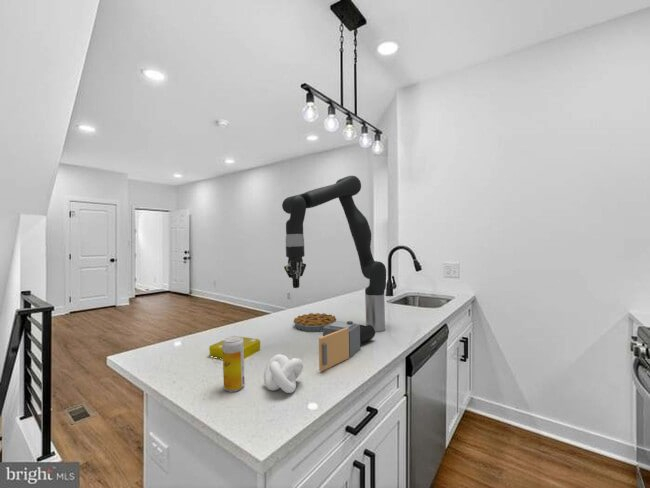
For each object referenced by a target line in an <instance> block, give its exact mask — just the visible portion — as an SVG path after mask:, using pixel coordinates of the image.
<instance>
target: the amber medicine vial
mask: <svg viewBox="0 0 650 488" xmlns="http://www.w3.org/2000/svg"><path fill="white" fill-rule="evenodd" d="M242 337H243V336H239V335H233V336H228V337H226V338H224V339H223V340H224V341H223V340H222V341H223V360H222V367H223V369H222V372H223V373H222V374H223V376H222V378H223V389H225V391H226V390H227V391H226V392H228V391H229V393H233V392H234V393H235V392H239V391H241V390H242V389H243V388H244V386H245V385H246V384H245V381H246V380H245V359H244V346H243V340H242ZM240 389H241V390H240ZM238 390H239V391H238Z"/></svg>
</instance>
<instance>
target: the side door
mask: <svg viewBox="0 0 650 488" xmlns="http://www.w3.org/2000/svg"><path fill="white" fill-rule="evenodd" d="M347 359H350V358H349V328H344V329H341V330H339V331H336V332H333V333H331V334H328V335H325V336H323V335H322V336H320V337H318V367H319V369H318V370H319V372H324V371H326V370H328V369H330V368H331V367H333V366H335V365H337V364H339V363H341V362H344V361H345V360H347Z"/></svg>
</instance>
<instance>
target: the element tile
mask: <svg viewBox="0 0 650 488" xmlns="http://www.w3.org/2000/svg"><path fill="white" fill-rule="evenodd" d="M241 337H242V340H243V346H244V360H245V359H246V358H249V357H251V356H252V355H254V354H256V353H258V352H260V350H261V340H260V339H259V338H251V337H247V336H246V337H244V336H241ZM223 341H224V339H223V340H220V341H219V342H216V343H213V344H211V345H210V346H209V349H208V350H209V357H210V356H213V357H217V358H221V359H223ZM221 359H220V360H221Z"/></svg>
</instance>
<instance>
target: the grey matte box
mask: <svg viewBox="0 0 650 488" xmlns="http://www.w3.org/2000/svg"><path fill="white" fill-rule="evenodd" d="M360 325H361V324H357V323H355V322H353V321H352V320H348V321H340V320H336V322H335V321H334V322H332V323H330V324H329V325H327V326H325V327H323V331H322V337H323V336H325V335H328V334H331V333H333V332H336V331H339V330H341V329H344V328H349V358H348V359H351V358H352V357H354V356H355V355H356V354H357V353H358V352H359V351H360V350H361V344H360Z"/></svg>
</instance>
